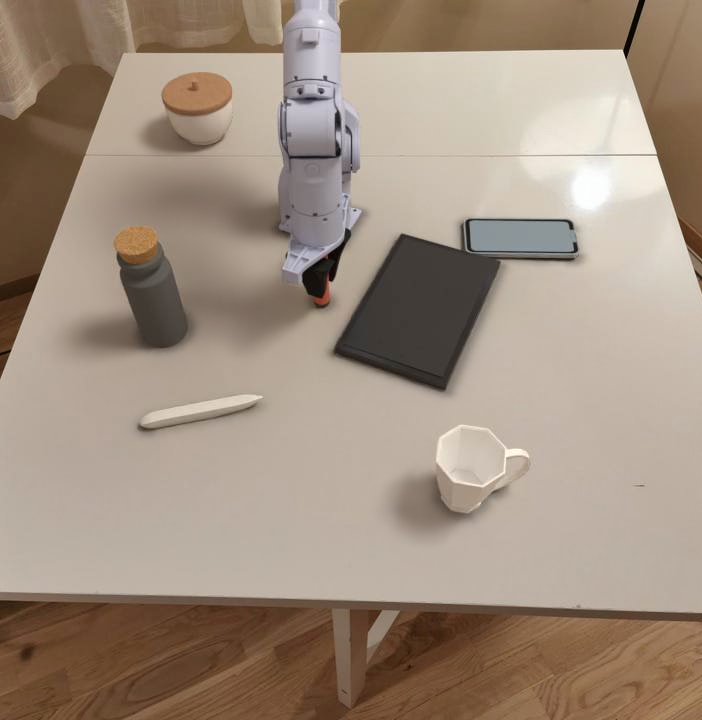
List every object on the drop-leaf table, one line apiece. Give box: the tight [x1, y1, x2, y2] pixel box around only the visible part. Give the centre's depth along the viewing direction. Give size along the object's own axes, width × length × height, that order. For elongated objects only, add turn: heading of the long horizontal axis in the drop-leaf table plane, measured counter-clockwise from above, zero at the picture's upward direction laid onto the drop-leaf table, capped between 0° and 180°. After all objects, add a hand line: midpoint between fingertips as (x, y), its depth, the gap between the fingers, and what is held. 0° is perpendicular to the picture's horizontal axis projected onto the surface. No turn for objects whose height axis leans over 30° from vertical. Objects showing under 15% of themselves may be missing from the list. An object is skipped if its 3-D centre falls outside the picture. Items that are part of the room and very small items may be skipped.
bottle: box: [113, 225, 189, 349], centre depth 82 cm, size 6×6×15 cm
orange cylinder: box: [313, 255, 331, 309], centre depth 87 cm, size 2×2×8 cm
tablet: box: [334, 232, 502, 392], centre depth 89 cm, size 14×22×1 cm, turn 156°
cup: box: [434, 423, 531, 514], centre depth 70 cm, size 7×10×8 cm
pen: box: [139, 394, 264, 429], centre depth 79 cm, size 2×14×2 cm, turn 103°
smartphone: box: [462, 217, 581, 259], centre depth 96 cm, size 7×1×15 cm
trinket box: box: [160, 71, 234, 146], centre depth 110 cm, size 11×11×9 cm
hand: (321, 286), depth 88 cm, fingers closed
